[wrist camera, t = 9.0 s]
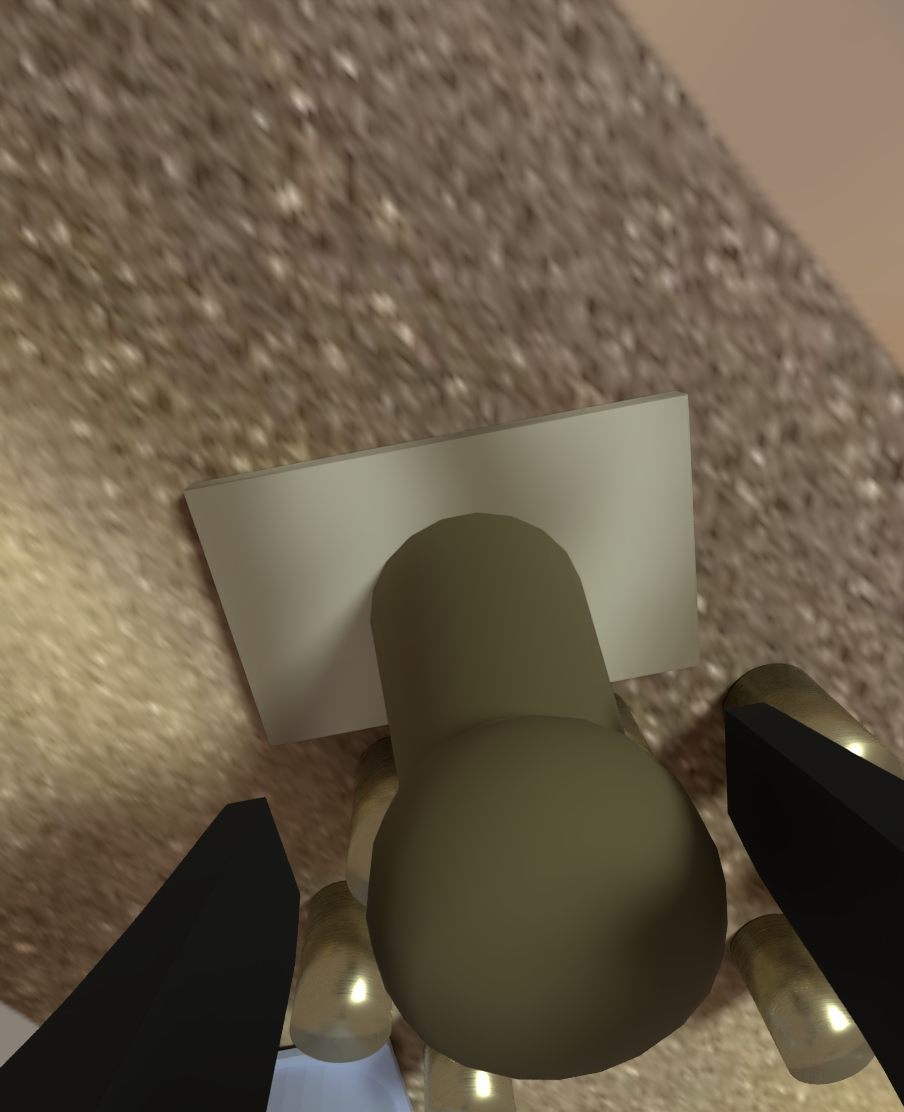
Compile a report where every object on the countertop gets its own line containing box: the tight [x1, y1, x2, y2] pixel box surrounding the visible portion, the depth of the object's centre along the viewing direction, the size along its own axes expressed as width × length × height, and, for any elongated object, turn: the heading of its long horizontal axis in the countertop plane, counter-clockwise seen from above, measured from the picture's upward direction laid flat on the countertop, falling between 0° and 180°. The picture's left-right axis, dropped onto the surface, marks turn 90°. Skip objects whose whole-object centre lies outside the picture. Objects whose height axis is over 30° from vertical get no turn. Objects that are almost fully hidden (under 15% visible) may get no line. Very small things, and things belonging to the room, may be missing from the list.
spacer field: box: [290, 663, 902, 1112], centre depth 21 cm, size 21×14×4 cm
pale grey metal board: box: [183, 391, 700, 747], centre depth 18 cm, size 13×8×1 cm, turn 100°
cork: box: [366, 512, 728, 1080], centre depth 13 cm, size 6×6×11 cm
